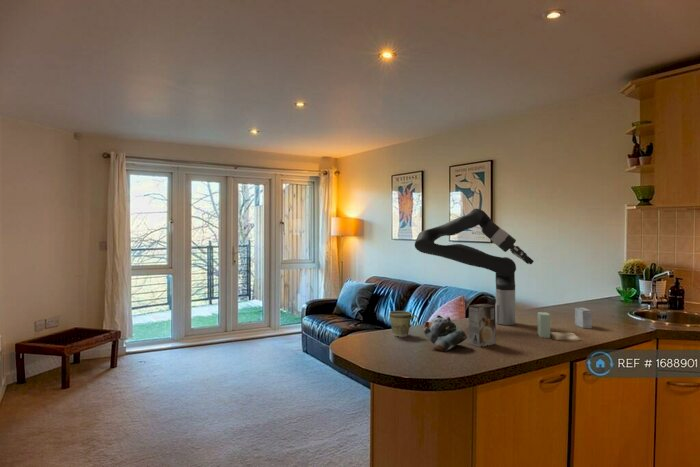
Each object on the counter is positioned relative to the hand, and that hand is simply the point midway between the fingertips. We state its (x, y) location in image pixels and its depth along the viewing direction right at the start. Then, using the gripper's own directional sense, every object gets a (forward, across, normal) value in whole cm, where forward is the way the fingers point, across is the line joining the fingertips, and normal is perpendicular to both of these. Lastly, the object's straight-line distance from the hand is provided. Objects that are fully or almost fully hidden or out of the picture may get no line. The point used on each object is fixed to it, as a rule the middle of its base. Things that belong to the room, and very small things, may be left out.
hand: (531, 262), depth 200 cm
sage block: (+24, +5, -22) cm, 33 cm away
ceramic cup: (-20, +20, -62) cm, 68 cm away
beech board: (+31, +5, -16) cm, 35 cm away
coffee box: (+5, +27, -40) cm, 48 cm away
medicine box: (+40, -20, -7) cm, 45 cm away
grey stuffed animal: (-6, +36, -50) cm, 62 cm away
